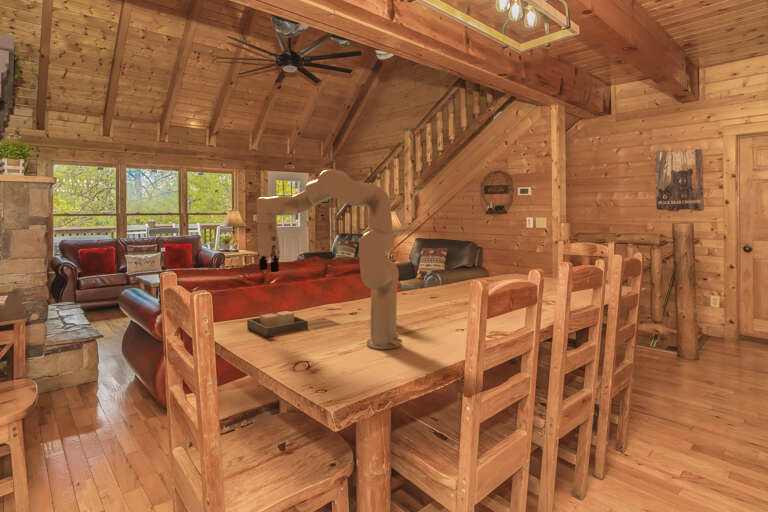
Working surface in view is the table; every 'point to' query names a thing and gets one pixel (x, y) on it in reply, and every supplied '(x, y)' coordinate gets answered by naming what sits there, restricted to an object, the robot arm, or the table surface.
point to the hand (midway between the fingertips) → (269, 270)
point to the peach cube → (285, 317)
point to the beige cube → (269, 320)
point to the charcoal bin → (275, 327)
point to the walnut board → (321, 323)
